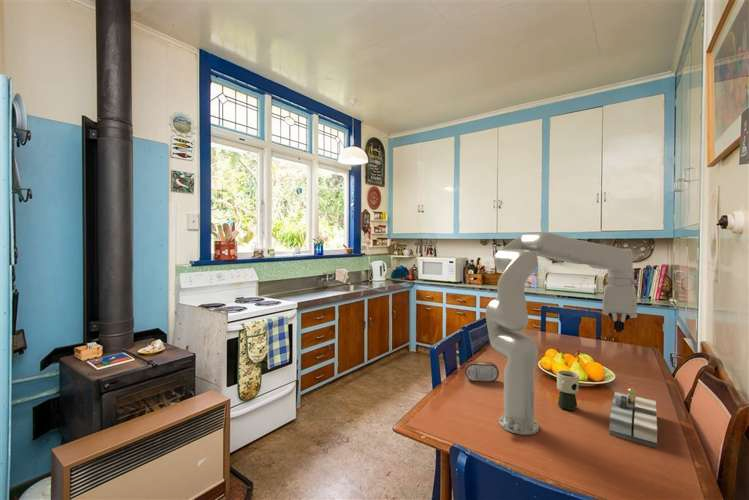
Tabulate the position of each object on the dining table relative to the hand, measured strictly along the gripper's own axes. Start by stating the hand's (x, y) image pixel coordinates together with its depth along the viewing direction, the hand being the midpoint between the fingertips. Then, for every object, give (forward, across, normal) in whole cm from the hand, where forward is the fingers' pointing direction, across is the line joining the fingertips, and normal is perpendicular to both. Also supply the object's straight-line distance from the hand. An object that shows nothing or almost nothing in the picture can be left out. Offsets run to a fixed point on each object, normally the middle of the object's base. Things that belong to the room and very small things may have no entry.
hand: (618, 331), depth 130 cm
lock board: (+29, -5, +10) cm, 31 cm away
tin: (+29, +50, +5) cm, 58 cm away
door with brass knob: (+23, -3, +10) cm, 25 cm away
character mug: (+29, +15, +10) cm, 34 cm away
